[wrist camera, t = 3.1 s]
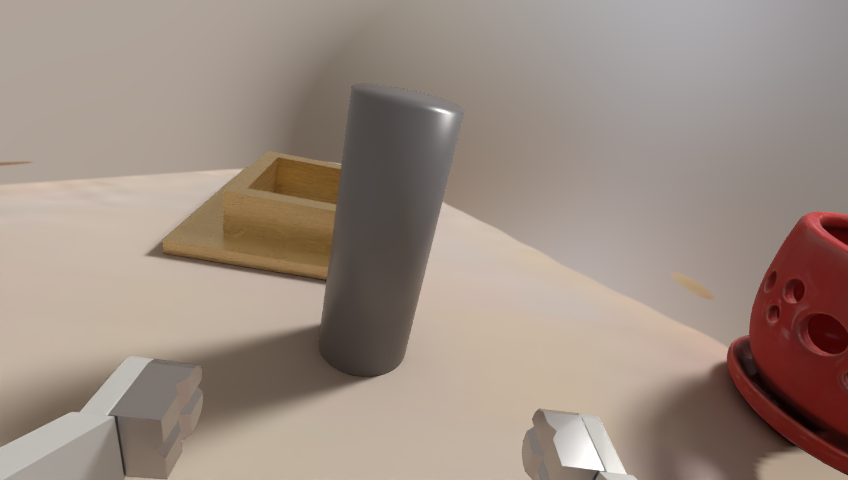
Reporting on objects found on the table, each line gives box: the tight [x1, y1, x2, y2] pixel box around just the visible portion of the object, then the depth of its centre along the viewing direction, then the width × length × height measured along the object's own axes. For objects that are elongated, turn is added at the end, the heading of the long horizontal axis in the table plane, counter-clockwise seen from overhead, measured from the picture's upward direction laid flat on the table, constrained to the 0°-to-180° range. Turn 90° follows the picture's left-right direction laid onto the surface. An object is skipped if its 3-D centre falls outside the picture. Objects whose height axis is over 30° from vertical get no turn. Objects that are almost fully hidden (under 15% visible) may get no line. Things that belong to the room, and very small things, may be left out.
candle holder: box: [162, 151, 341, 280], centre depth 36 cm, size 16×16×4 cm
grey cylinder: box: [319, 84, 464, 376], centre depth 22 cm, size 5×5×14 cm
